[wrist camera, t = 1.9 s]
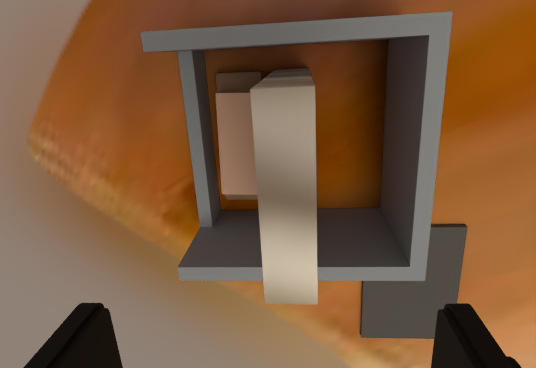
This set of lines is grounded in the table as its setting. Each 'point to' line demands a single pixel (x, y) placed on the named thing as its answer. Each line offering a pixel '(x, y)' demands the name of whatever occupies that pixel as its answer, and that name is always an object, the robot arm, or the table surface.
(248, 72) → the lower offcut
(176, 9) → the table surface
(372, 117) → the table surface
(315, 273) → the tall board
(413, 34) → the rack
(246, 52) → the table surface
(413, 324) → the mat
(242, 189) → the upper offcut
